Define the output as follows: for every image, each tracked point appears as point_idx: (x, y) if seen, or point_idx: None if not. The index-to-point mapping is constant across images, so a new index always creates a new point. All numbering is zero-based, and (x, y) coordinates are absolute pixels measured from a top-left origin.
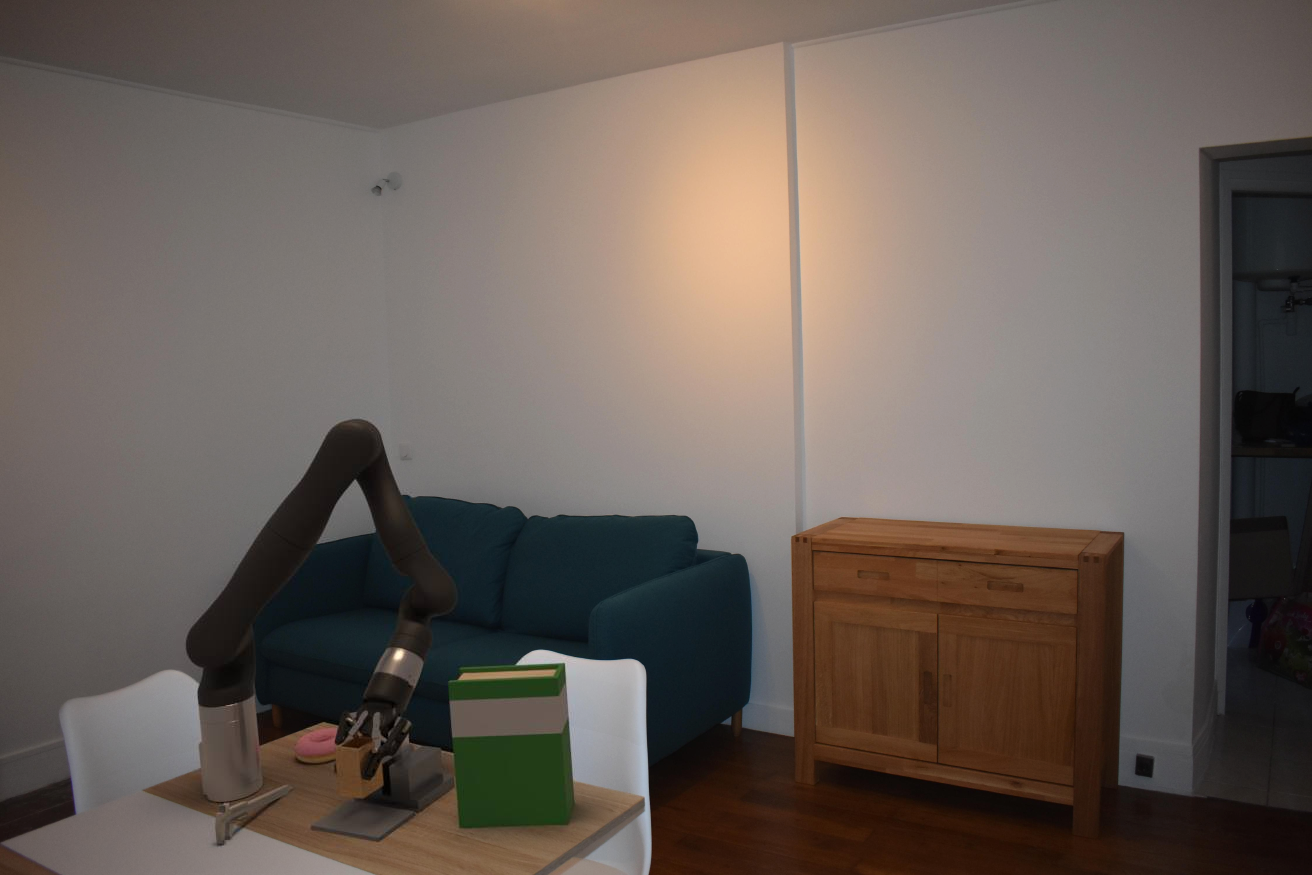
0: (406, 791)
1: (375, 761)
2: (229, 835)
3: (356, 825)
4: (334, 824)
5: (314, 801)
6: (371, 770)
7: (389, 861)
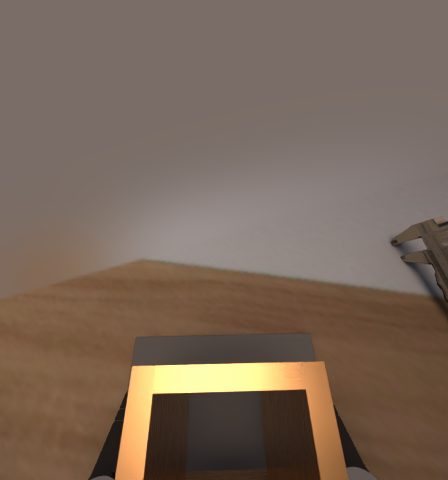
0: None
1: (106, 446)
2: (406, 255)
3: None
4: (265, 353)
5: (435, 459)
6: (125, 400)
7: (81, 287)
